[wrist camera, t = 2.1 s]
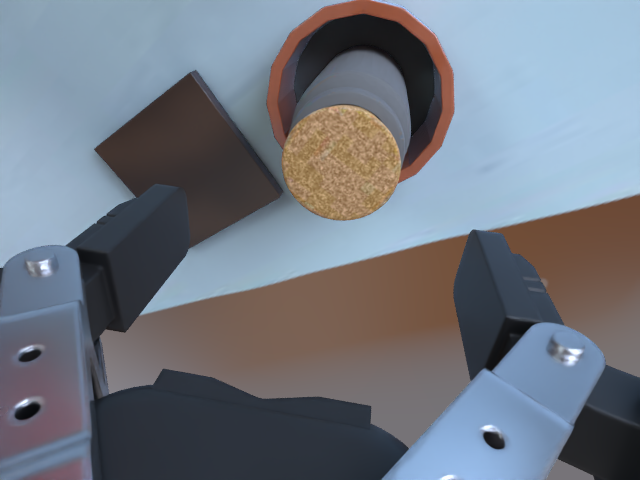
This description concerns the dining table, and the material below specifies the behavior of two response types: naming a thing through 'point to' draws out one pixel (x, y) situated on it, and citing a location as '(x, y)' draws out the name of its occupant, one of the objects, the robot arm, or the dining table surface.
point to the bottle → (349, 136)
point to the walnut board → (192, 157)
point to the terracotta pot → (371, 3)
